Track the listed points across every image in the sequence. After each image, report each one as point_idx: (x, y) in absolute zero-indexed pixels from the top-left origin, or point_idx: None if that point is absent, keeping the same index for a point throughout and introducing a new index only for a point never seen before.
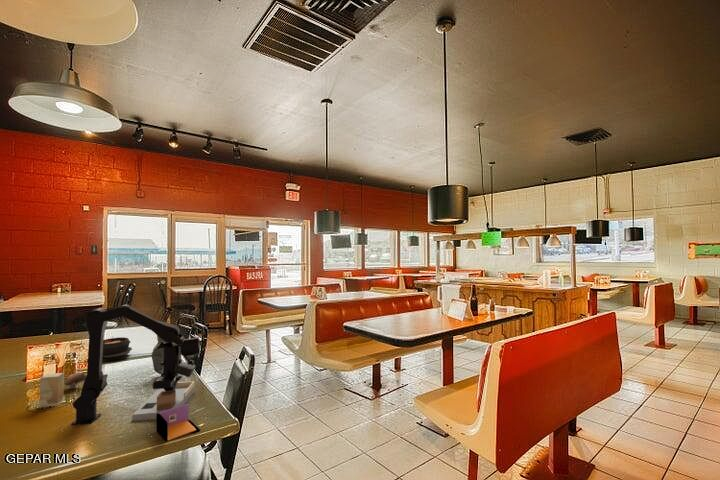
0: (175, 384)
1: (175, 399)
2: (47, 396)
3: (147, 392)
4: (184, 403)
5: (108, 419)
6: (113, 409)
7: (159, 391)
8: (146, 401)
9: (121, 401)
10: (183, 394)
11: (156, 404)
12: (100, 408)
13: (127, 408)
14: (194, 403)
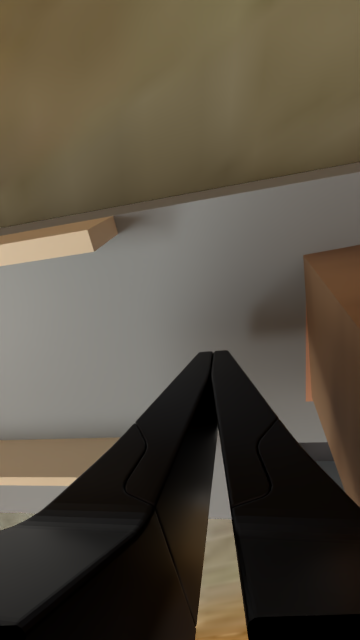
0: (155, 498)
1: (332, 271)
2: None
3: (13, 524)
4: (153, 201)
5: None
6: (226, 580)
7: (34, 497)
8: (219, 515)
9: None
10: (39, 282)
11: (299, 437)
12: (211, 613)
13: (219, 541)
14: (123, 65)
